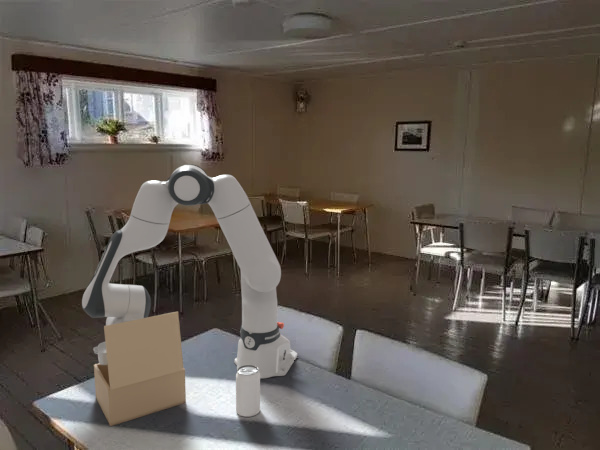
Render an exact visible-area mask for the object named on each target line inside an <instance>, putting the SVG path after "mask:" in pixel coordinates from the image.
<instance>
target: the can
mask: <svg viewBox="0 0 600 450" xmlns="http://www.w3.org/2000/svg"><path fill="white" fill-rule="evenodd" d="M236 370H237V369H236ZM260 410H261V378H260V373H259V369H258V367H256V366H254V365H243V366H241V367H239V368H238V370H237V372H236V374H235V411H236V413H237V414H238V415H239V417H242V418H252V417H256V415H258V414H259V412H260Z"/></svg>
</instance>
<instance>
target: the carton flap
mask: <svg viewBox="0 0 600 450" xmlns="http://www.w3.org/2000/svg"><path fill="white" fill-rule="evenodd" d="M180 327H181V325H180V319H179V311H173V312H168V313H163V314H158V315H153V316H148V317H147V318H142V319H137V320H132V321H127V322H122V323H117V324H112V325H107V326H106V325H104V326H103V330H104V332H103V333H104V342H106V352H107V362H108V372H109V382H110V390H112V389H116V388H120V387H123V386H127V385H131V384H134V383H138V382H142V381H145V380H149V379H153V378H156V377H160V376H164V375H167V374H171V373H175V372H178V371H182V370H184V369H185V368H184V360H183V359H184V358H183V350H182V349H183V348H182V347H183V346H182V338H181V337H182V336H181V329H180Z"/></svg>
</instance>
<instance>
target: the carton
mask: <svg viewBox="0 0 600 450" xmlns="http://www.w3.org/2000/svg"><path fill="white" fill-rule="evenodd" d="M93 371H94V372H93V374H94V375H93V376H94V389H95V390H94V391H95V399H96V401H97V403H98V405H99V407H100V409H101V411H102V413H103V414H104V417H105V419H106V420H107V423H108V425H109V427H114V426H115V425H116V426H117V425H119V424H123V423H126V422H129V421H133V420H135V419H139V418H141V417H142V418H143V417H145V416H148V415H151V414H154V413H158V412H161V411H164V410H167V409H170V408H174V407H176V406H180V405H183V404H186V403H187V397H186V395H187V394H186V393H187V392H186V369H185V368H184V370H182V371H178V372H175V373H171V374H167V375H164V376H160V377H156V378H153V379H149V380H145V381H142V382H138V383H134V384H131V385H127V386H123V387H120V388H116V389H112V390H110V382H109V372H108V365H101V364H99V363H95V364H93Z"/></svg>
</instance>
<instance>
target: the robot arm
mask: <svg viewBox="0 0 600 450" xmlns="http://www.w3.org/2000/svg"><path fill="white" fill-rule="evenodd" d="M179 204H180V205H182V206H184V207H185V206H186V207H187V206H188V207H191V206H198V205H206V204H208V205H209V207H210V208H211V210H212V212H213V214H214V216H215V218H216V221H217V222H218V224H219V226H220V229H221V231H222V233H223V235H224V236H225V239H226V240H227V241H226V242H227V243H228V245H229V247H230V249H231V252H232V255H233V256H234V259H235V261H236V263H237V265H238V267H239V269H240V289H241V291H240V292H241V326H240V331H239V333H240V339H238V342H237V343H238V344H237V357H235V358H234V360H233V361H234V362H233V363H234V364H235V365H236V370H238V368H239V367H241V366H243V365H254V366H256V367H258V369H259V373H260V379H268V378H272V377H283V376H286V375H287V373H288V371H289V370H290V369H291V367H292V365H293V364H294V362H295V361H296V359H297V357H298V352H296V351H295V350H293V349H292V348H291V341H290V340H289V339H288V338H287V337H285V336H284V335H283V334H281V331H280V330H283V329H284V327H285V323H284V322H280V321H278V297H277V287H278V285H279V284H280V281H281V277H282V269H281V268H282V267H281V265H280V262H279V260H278V258H277V256H276V254H275V252H274V250H273V248H272V245H271V244H270V242H269V240H268V238H267V235H266V234H265V231H264V230H263V226H261V223H260V221H259V218H258V217H257V214H256V212H255V210H254V207H253V206H252V204H251V201H250V199H249V197H248V195H247V193H246V191H244V188H243V187H242V186H241V184H240V182H239V181H238V180H237V179H236V177H234V175H231V174H225V173H224V174H220V175H218V176H217V175H216V176H215V177H211V176H209V175H207V172H206V171H205V170H204V169H203V168H202V167H201V166H198V165H195V164H193V163H192V164H184V165H180V166H179V167H177V168H176V169H175V170H174V171H173V172H172V173H171V175H170V176H169V177H168V178H167V180H166V181H164V180H163V181H162V180H161V181H160V180H155V179H154V180H147V181H145V182H143V183H142V185H141V186H140V188H139V190H138V192H137V195H136V197H135V199H134V202H133V205H132V208H131V211H130V214H129V218H128V220H127V222H126V224H125V225H124V226H123V227H122V228H120V229H119V230H116V231H114V233H113V234H112V235H111V237H110V239H109V240H108V243H107V245H106V246H105V249H104V252H103V254H102V256H101V257H100V260H99V263H97V267H96V269H95V271H94V274H93V276H92V277H91V279H90V281H89V283H88V285H87V287H86V288H85V291H84V293H83V295H82V299H81V308H82V310H83V311H84V313H86V314H87V315H88V316H89V317H90V318H92V319H95V318H96V319H97V318H106V320H105V326H107V325H112V324H117V323H122V322H127V321H132V320H137V319H142V318H147V317H149V315H150V311H151V307H152V298H151V295H150V294H149V292H148V290H147V289H146V287H145V286H143V285H139V284H138V285H137V284H123V283H122V284H121V283H112V282H111V283H110V281H111V279H112V277H113V274H114V272H115V270H116V267H117V265H118V263H119V261H121V259H122V258H123V257H126V256H127V255H130V254H133V253H135V252H139V251H143V250H144V251H145V250H149V249H151V248H154V247H156V246H157V245H159V244H160V243H161V242H163V241H164V239H165V237H166V236H167V234H168V231H169V226H170V223H171V218H172V214H173V212H174V210H175V207H177V206H178V205H179ZM92 350H93V352H94V354H95V355H97V359H98V364H101V365H108V362H107V352H106V342H105V341H102V342H100V343H98V345H96V346H94V347H93V348H92ZM294 360H295V361H294Z"/></svg>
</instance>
